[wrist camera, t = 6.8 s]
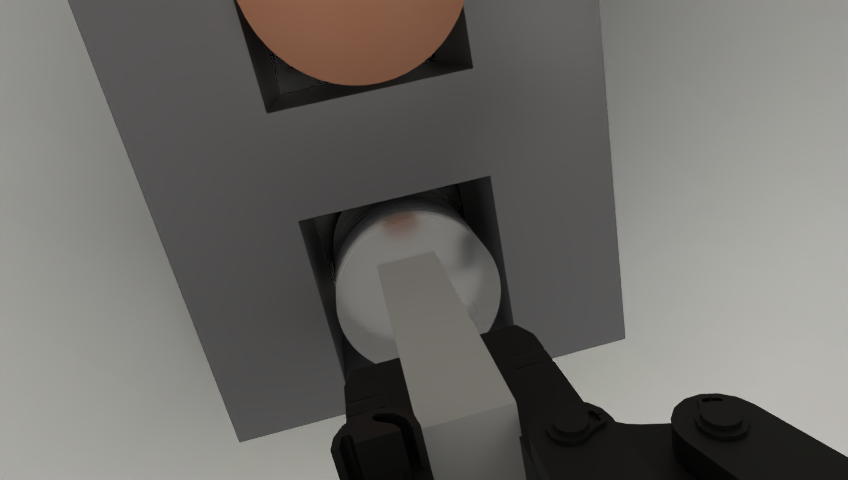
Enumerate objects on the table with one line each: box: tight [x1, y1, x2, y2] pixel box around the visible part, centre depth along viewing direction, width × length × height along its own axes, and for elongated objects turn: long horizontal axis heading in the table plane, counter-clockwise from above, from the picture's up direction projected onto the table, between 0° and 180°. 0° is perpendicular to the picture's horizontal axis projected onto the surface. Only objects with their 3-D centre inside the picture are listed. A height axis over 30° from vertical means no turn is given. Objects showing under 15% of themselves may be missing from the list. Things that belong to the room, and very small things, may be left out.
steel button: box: [333, 189, 501, 364], centre depth 17 cm, size 4×4×4 cm
